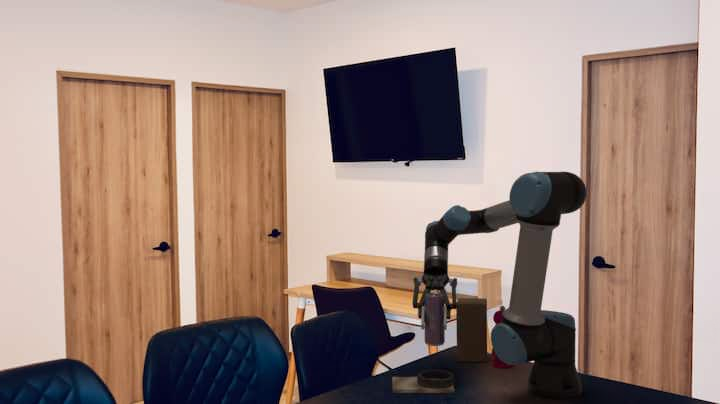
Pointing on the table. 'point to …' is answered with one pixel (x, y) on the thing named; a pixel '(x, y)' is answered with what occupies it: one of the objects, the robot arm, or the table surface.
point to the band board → (414, 387)
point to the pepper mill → (496, 361)
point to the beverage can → (434, 319)
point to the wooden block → (471, 329)
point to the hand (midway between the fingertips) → (433, 327)
